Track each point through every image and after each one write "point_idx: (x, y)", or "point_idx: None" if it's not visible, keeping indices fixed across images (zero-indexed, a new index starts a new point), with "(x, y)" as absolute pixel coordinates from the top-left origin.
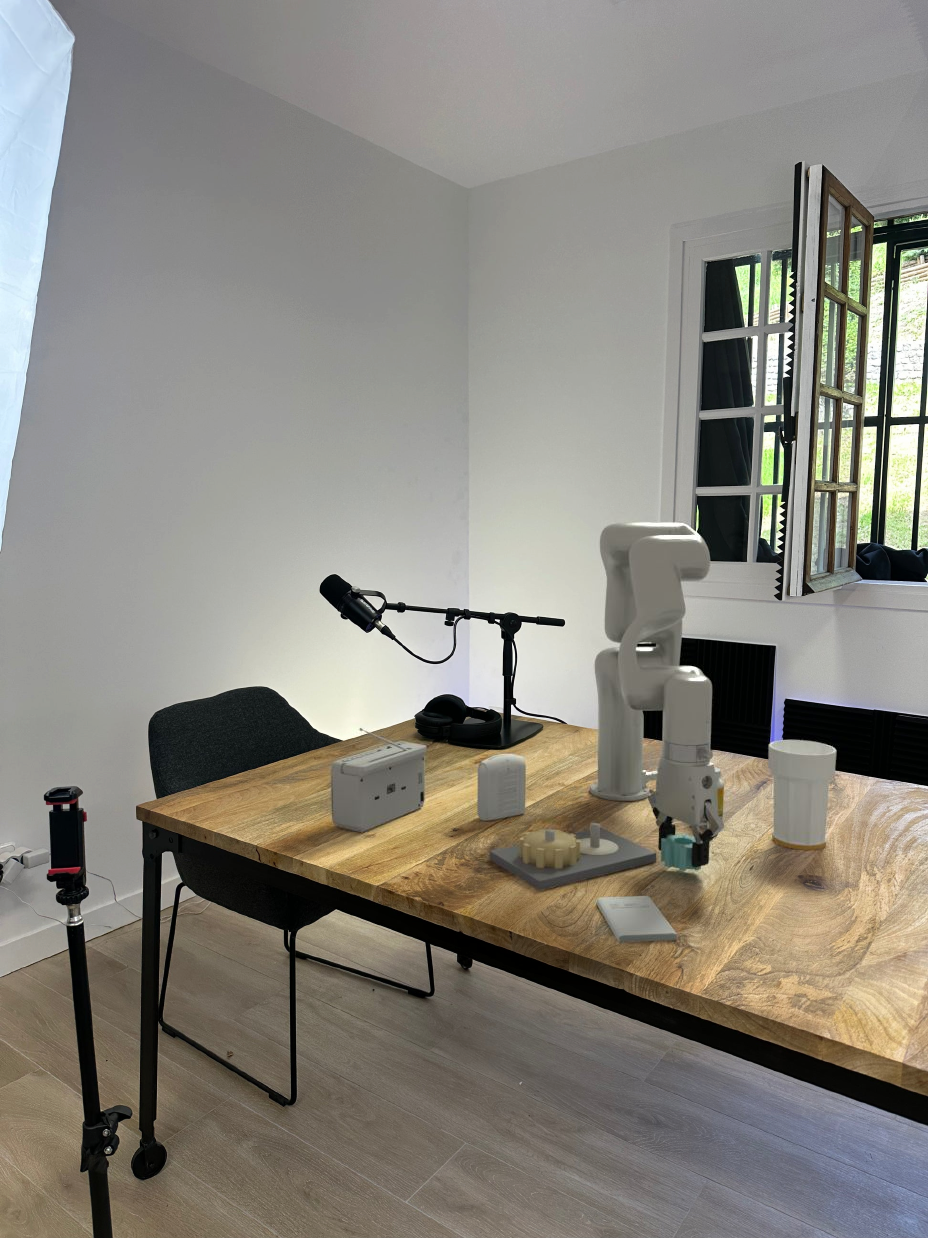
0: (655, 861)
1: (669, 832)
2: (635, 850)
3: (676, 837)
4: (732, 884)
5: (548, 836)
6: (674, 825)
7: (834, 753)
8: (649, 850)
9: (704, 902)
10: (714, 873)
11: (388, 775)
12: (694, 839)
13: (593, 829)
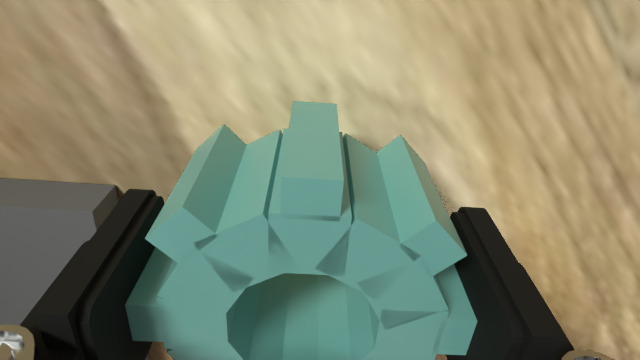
0: (115, 190)
1: (119, 331)
2: (18, 269)
3: (211, 322)
4: (580, 89)
5: None
6: (68, 320)
7: None
8: (40, 215)
9: (566, 323)
10: (416, 45)
11: None
12: (327, 249)
13: None
